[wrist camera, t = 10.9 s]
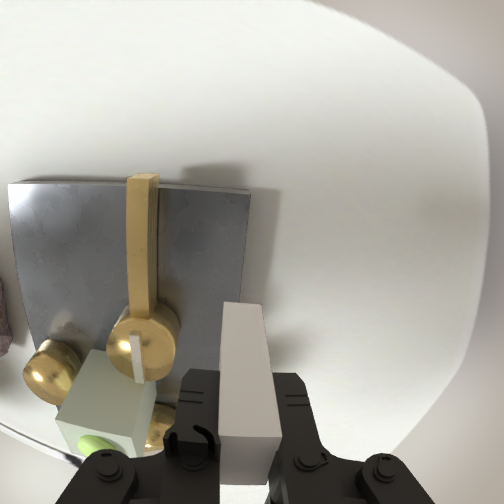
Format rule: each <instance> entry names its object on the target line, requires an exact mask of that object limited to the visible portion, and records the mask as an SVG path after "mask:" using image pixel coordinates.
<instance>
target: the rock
mask: <svg viewBox="0 0 504 504" xmlns="http://www.w3.org/2000/svg"><path fill="white" fill-rule="evenodd" d="M12 340H13V337H12V335H11V332H10V330H9V326H8V323H7V317H6V307H5V301H4V297H3V291H2V285H1V281H0V357H1V356H3V355H4V354H6V353H7V352H8V348H9V346H10V344H11V342H12Z"/></svg>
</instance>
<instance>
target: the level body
mask: <svg viewBox="0 0 504 504" xmlns="http://www.w3.org/2000/svg"><path fill="white" fill-rule="evenodd" d="M156 395H157V392H156V383H155V381H145V384H140V383H135V379H132V378H130V377H128V376H126V375H124V374H122V373H121V372H120V371H118V370H117V369H116V368H115V367H114V366H113V364H112V363H111V362H110V360H109V358H108V355H107V352H106V351H100V350H95V349H91V351H90V352H89V354H88V356H87V358H86V360H85V362H84V363H83V365H82V367H81V369H80V371H79V373H78V375H77V377H76V378H75V380H74V382H73V384H72V386H71V388H70V390H69V392H68V394H67V396H66V398H65V400H64V402H63V404H62V406H61V408H60V410H59V412H58V414H57V416H56V418H55V421H56V423H57V425H58V427H59V429H60V431H61V433H62V435H63V437H64V439H65V441H66V443H67V445H68V447H69V449H70V451H71V452H72V453H73V454H77V455H80V456H84V457H88V456H89V455H90V454H91V453H93V452H95V451H98V450H100V449H113V450H117V451H121V452H122V453H124V454H125V455H127V456H128V457H129V458H135V457H143V455H144V450H145V445H146V440H147V435H148V430H149V426H150V421H151V417H152V412H153V408H154V403H155V399H156Z"/></svg>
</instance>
